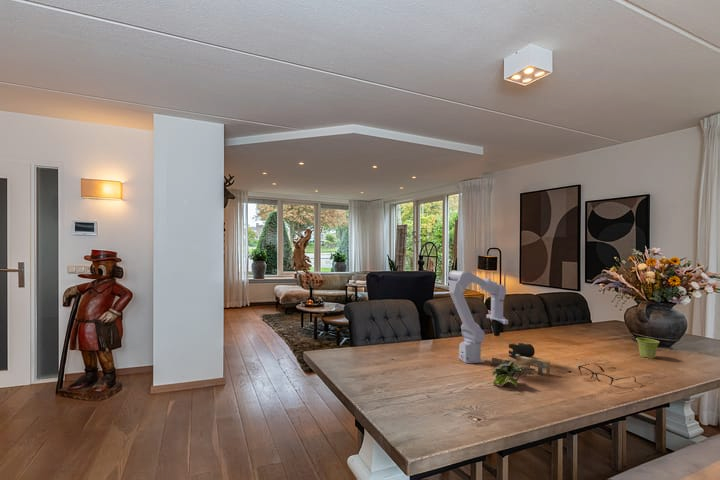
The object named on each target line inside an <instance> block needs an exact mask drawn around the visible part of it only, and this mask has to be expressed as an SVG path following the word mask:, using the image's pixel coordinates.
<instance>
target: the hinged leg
mask: <svg viewBox="0 0 720 480" xmlns="http://www.w3.org/2000/svg"><path fill="white" fill-rule="evenodd" d="M515 360H516V363H517V364H523V365H528V366H530V367H535V368H538V361H542V362H543V369H545V373H546V374H547V376H548V375H550V374H551V361H550V360H545V359H541V358H533V357H530V358H529V357H523V356H521V355H519V354H516V359H515Z"/></svg>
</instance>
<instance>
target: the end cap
mask: <svg viewBox="0 0 720 480" xmlns="http://www.w3.org/2000/svg"><path fill="white" fill-rule="evenodd" d="M508 348H509V349H508V354H509V355H508V357H509V358H511V359H514V360H516V354H519V355H521V356H523V357H529V358H533V357H534V356H535V348H534V346H533V344H530V343H524V342H521V343H520V342H519V343H518V344H516V343H508ZM510 349H511V350H510Z"/></svg>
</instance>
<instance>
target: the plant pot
mask: <svg viewBox="0 0 720 480" xmlns="http://www.w3.org/2000/svg"><path fill="white" fill-rule="evenodd" d="M635 340H636V342H637V346H638V351H639V356H641V357H642V358H647V359H653V360H654V359H655V358H656V354H657V351H658V350H657V349H658V346H659V344H660V341H659V340H656V339H653V338H652V339H651V338H647V337H636V338H635Z"/></svg>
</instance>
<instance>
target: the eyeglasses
mask: <svg viewBox="0 0 720 480" xmlns="http://www.w3.org/2000/svg"><path fill="white" fill-rule="evenodd" d="M589 365H590V363H587V364H583V365H578V366H577V369H578V370H579V373H580V375H581V376H583V373H582V371H581V369H582V368H583V369H585V370H587V371H589V372H590V373H591V377H590V379H592V378H594V376H595V377H596V379H597V381H598V382H600V379H599V377H598V375H601V376H605V377H607V378H610V380H611V382H610V383H609V386H611V385H612V384H613V382H614V381H617V380H618V381H619V380H623V379H627V378H628V379H629V378H630V376H626V377H620V378H619V377H618V378H614V377H612V376H609V375H608V374H604V373H601V372H604V371H605V370H604V369H603V368H602V366H601V365H598V364H597V363H594V365H596V366H597V367H599V369H600V370H601V372H599V373H598V372H594V371H592V370H591V369H589V368H587V367H585V366H589ZM633 378H634V383H636V382H637V380H636V377H635V376H633Z"/></svg>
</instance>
